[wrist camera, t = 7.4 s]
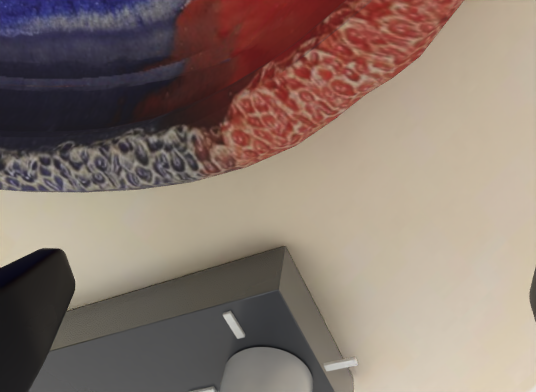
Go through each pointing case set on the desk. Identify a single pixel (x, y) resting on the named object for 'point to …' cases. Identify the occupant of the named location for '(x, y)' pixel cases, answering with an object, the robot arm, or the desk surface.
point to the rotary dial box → (194, 332)
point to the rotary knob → (265, 372)
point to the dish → (186, 82)
